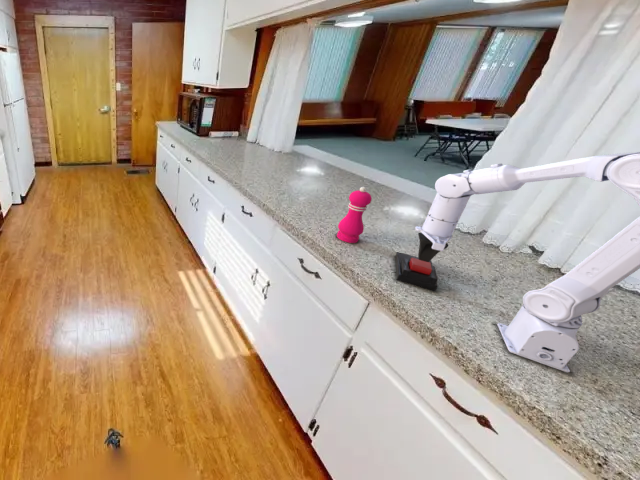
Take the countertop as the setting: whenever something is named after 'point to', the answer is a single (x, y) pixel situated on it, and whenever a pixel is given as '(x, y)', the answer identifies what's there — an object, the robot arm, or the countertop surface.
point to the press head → (420, 266)
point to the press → (414, 273)
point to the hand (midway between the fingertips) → (423, 259)
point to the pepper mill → (354, 216)
